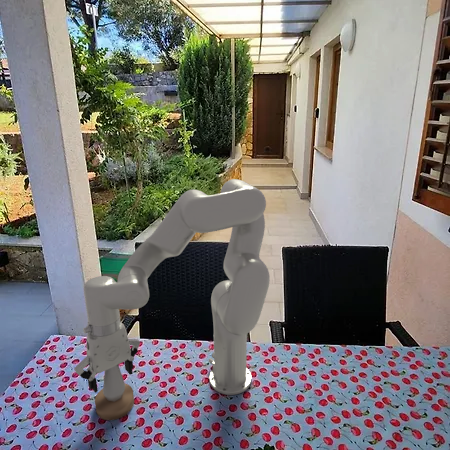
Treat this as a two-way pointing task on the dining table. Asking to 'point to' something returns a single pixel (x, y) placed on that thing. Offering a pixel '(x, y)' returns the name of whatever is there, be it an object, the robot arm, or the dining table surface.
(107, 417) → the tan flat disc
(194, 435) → the dining table surface
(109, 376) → the salt shaker
